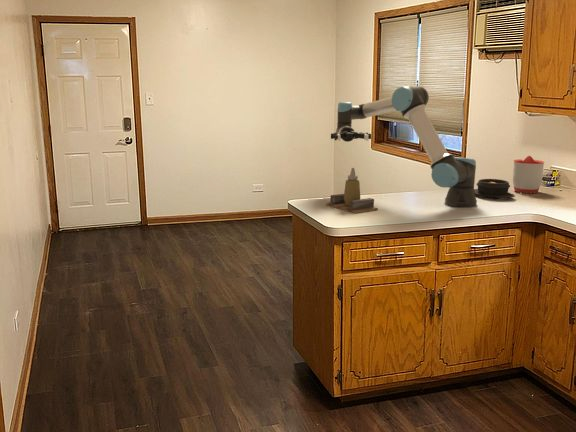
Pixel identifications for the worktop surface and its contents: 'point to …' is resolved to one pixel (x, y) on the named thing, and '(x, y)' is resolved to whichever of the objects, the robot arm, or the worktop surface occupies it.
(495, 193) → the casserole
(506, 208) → the worktop surface
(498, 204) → the worktop surface
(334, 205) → the end cap board
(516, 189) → the citrus juicer
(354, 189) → the squeeze bottle
